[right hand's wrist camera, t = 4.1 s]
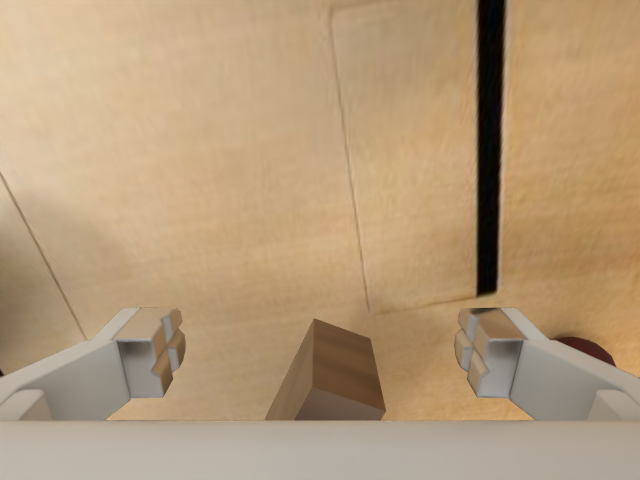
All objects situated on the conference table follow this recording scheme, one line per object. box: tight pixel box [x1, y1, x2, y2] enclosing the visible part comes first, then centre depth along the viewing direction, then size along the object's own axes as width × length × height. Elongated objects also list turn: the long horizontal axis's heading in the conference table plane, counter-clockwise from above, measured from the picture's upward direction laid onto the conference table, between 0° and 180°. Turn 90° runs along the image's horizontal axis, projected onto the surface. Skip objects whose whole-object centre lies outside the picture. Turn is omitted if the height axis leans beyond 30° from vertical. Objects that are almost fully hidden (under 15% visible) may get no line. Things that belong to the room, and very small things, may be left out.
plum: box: [556, 337, 616, 367], centre depth 41 cm, size 7×8×7 cm
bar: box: [264, 319, 386, 421], centre depth 33 cm, size 28×6×8 cm, turn 157°
